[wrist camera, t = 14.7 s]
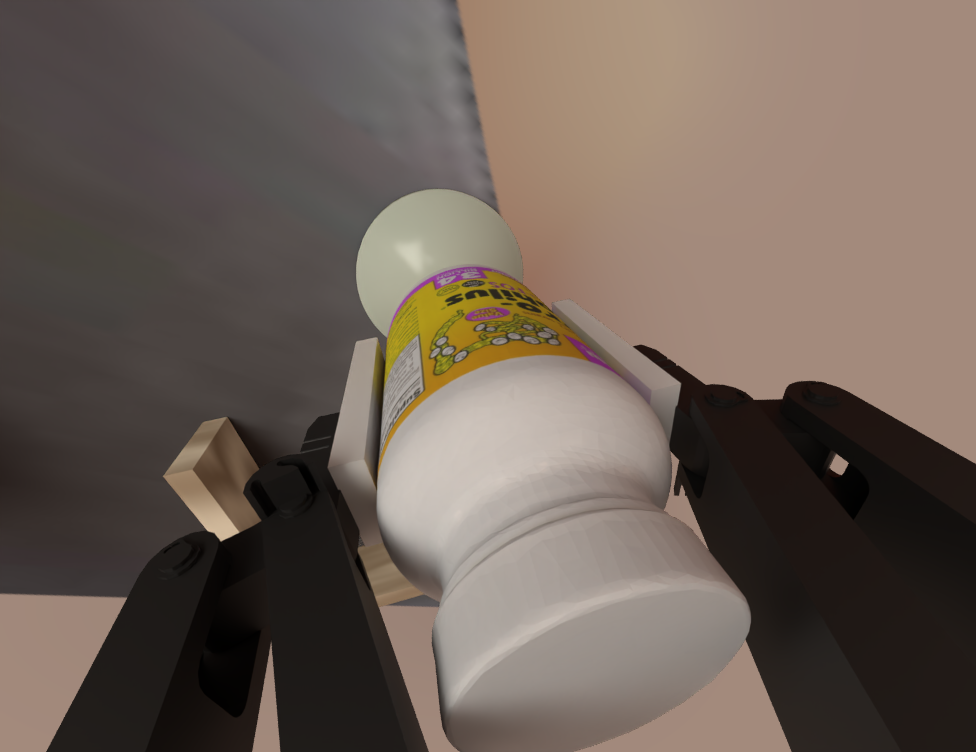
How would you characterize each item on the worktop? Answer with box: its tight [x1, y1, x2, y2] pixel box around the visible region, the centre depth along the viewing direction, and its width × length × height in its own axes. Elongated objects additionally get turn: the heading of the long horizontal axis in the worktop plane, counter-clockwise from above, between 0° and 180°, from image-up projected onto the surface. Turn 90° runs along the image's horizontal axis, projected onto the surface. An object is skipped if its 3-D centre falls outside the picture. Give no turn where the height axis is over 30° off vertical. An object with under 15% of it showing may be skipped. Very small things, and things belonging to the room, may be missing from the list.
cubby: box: [163, 417, 424, 607], centre depth 28 cm, size 18×14×5 cm
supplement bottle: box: [377, 264, 751, 752], centre depth 11 cm, size 7×7×13 cm
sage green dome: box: [356, 188, 523, 337], centre depth 23 cm, size 10×10×1 cm
